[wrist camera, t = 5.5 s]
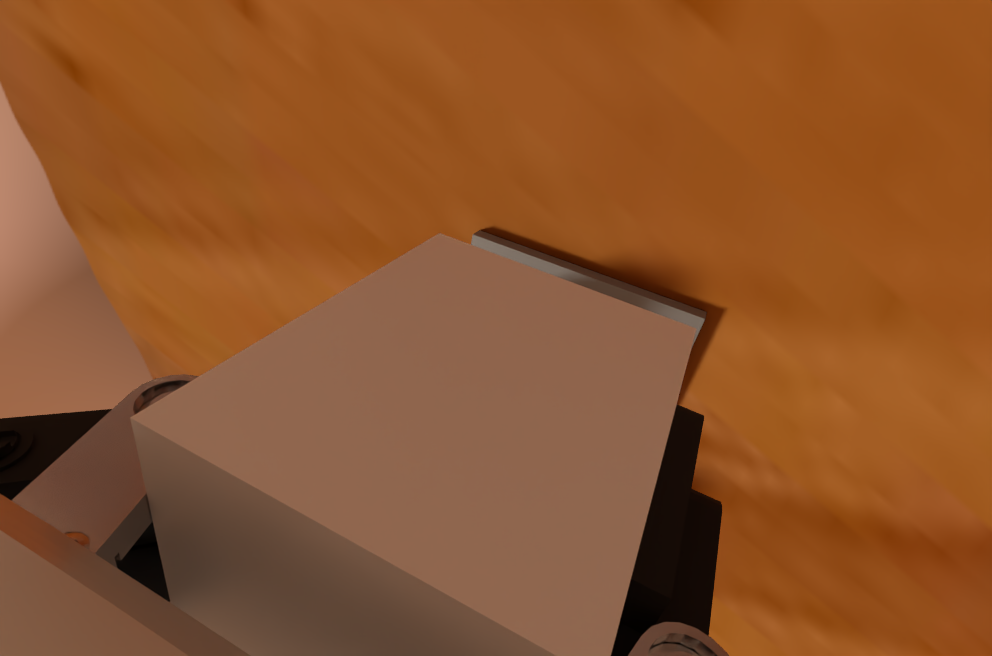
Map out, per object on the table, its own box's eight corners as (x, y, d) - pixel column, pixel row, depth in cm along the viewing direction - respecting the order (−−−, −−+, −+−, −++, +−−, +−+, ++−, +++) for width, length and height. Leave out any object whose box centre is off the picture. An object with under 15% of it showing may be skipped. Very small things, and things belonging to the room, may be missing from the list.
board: (479, 230, 29) (472, 234, 28) (706, 312, 26) (705, 319, 25) (430, 489, 40) (424, 496, 39) (588, 569, 37) (585, 578, 36)
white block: (439, 233, 11) (130, 417, 6) (696, 328, 10) (603, 681, 4) (411, 424, 14) (184, 669, 9) (609, 518, 13) (486, 878, 7)
